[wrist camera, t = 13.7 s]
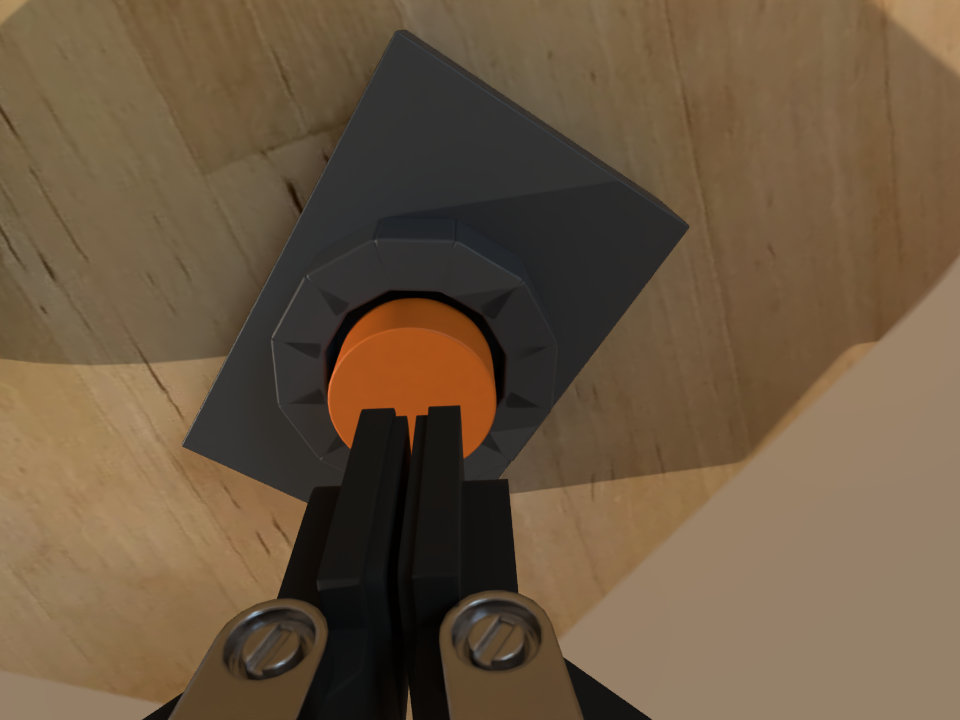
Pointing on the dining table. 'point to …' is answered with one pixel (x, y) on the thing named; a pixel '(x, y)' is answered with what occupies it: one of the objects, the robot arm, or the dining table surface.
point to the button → (414, 368)
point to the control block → (435, 266)
